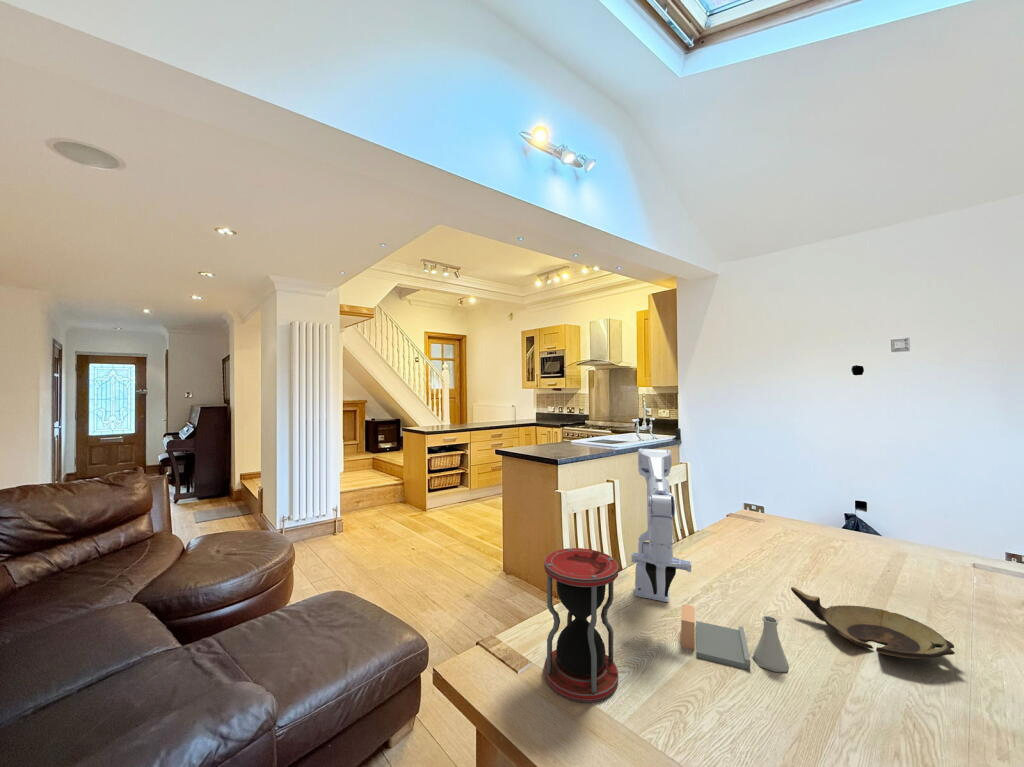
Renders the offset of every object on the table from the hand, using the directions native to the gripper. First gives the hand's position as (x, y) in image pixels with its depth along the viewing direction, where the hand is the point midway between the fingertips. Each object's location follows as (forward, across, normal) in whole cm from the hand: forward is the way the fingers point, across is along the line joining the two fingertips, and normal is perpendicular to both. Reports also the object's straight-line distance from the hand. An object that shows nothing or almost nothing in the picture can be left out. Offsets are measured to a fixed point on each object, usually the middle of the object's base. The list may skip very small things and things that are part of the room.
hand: (660, 593), depth 106 cm
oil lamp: (+10, +48, +19) cm, 53 cm away
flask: (+10, +24, -2) cm, 26 cm away
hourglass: (+10, -15, -24) cm, 30 cm away
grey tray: (+10, +14, 0) cm, 17 cm away
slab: (+10, +6, 0) cm, 12 cm away
